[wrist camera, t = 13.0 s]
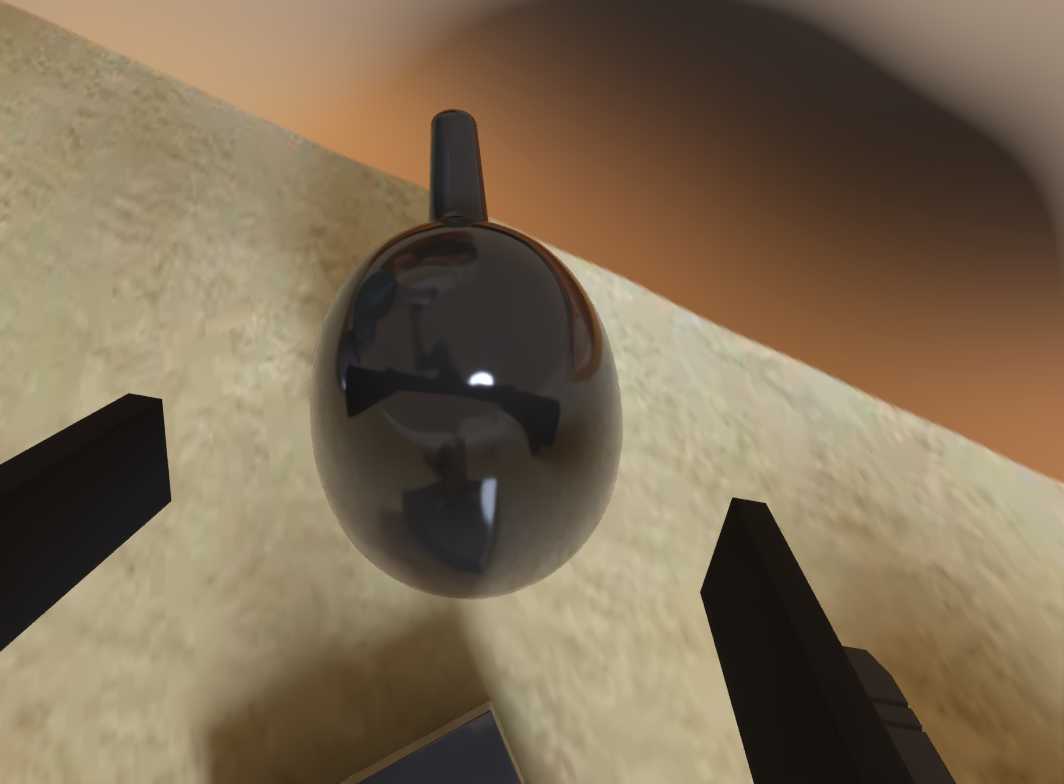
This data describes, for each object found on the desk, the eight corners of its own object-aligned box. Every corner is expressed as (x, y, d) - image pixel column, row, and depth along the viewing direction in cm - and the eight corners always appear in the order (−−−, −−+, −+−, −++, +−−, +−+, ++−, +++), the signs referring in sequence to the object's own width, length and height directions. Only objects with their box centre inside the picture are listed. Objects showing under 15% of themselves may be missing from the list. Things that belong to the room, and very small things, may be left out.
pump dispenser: (582, 357, 27) (679, 68, 13) (609, 594, 24) (784, 540, 10) (357, 365, 27) (205, 67, 13) (347, 613, 23) (114, 585, 9)
